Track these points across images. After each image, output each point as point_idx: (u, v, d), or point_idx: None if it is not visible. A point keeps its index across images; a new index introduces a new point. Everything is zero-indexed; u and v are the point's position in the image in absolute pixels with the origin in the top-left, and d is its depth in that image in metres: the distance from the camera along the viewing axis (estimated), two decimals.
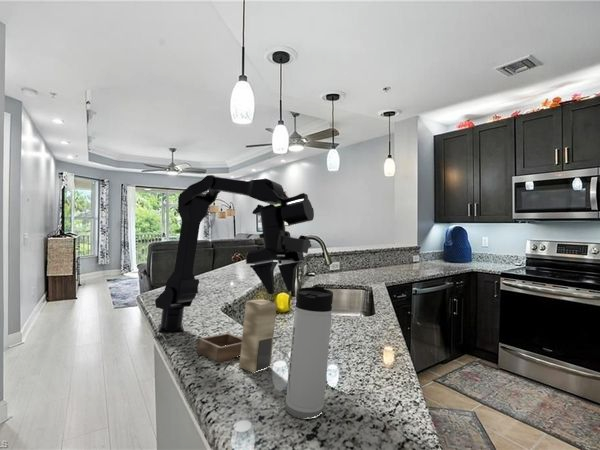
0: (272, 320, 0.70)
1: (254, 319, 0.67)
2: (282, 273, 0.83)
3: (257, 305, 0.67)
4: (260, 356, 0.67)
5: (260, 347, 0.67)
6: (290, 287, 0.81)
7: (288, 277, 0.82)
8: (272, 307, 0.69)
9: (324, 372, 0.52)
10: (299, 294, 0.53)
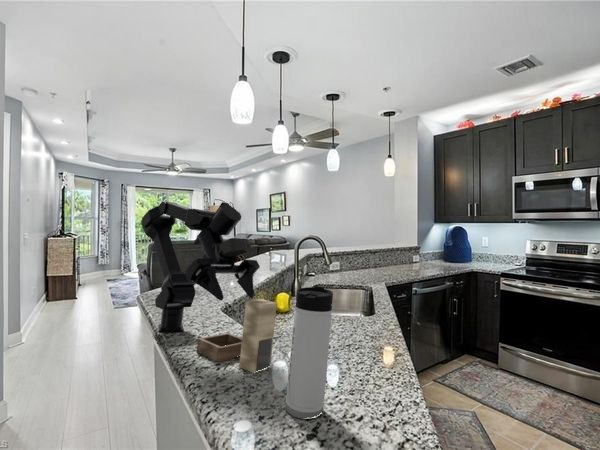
0: (272, 320, 0.70)
1: (254, 319, 0.67)
2: (242, 285, 0.82)
3: (257, 305, 0.67)
4: (260, 356, 0.67)
5: (260, 347, 0.67)
6: (251, 293, 0.79)
7: (247, 285, 0.80)
8: (272, 307, 0.69)
9: (324, 372, 0.52)
10: (299, 294, 0.53)
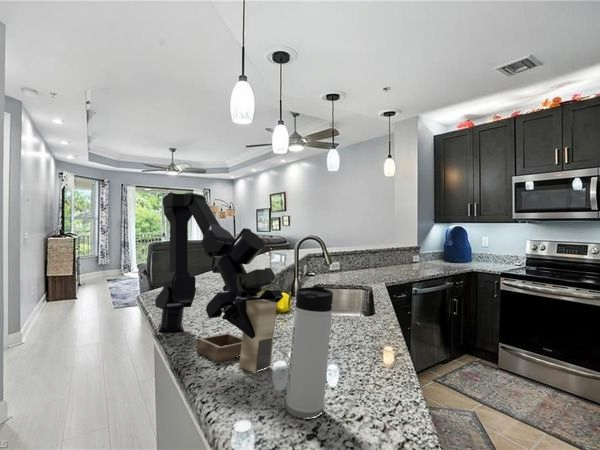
0: (272, 320, 0.70)
1: (254, 319, 0.67)
2: None
3: (257, 305, 0.67)
4: (260, 356, 0.67)
5: (260, 347, 0.67)
6: None
7: None
8: (272, 307, 0.69)
9: (324, 372, 0.52)
10: (299, 294, 0.53)
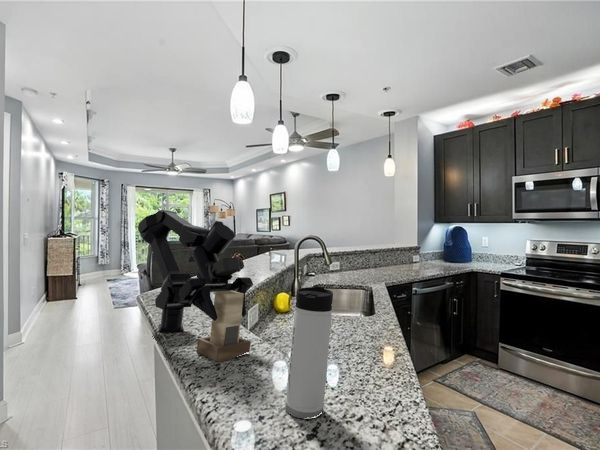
0: (239, 309, 0.77)
1: (222, 308, 0.74)
2: None
3: (224, 295, 0.74)
4: (227, 341, 0.74)
5: (227, 333, 0.74)
6: (243, 312, 0.79)
7: None
8: (239, 297, 0.76)
9: (324, 372, 0.52)
10: (299, 294, 0.53)
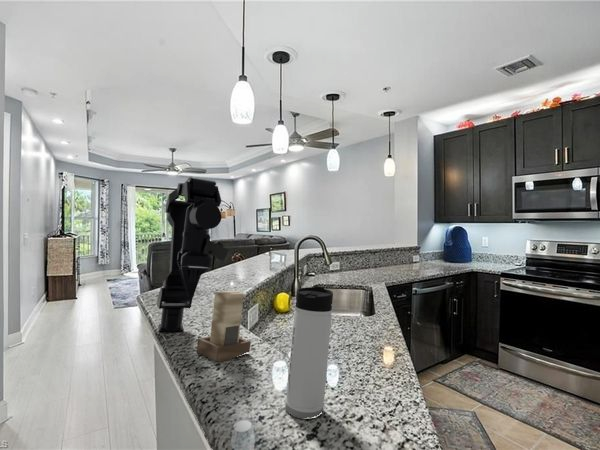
0: (239, 309, 0.77)
1: (222, 308, 0.74)
2: (182, 271, 0.81)
3: (224, 295, 0.74)
4: (227, 341, 0.74)
5: (227, 333, 0.74)
6: None
7: None
8: (239, 297, 0.76)
9: (324, 372, 0.52)
10: (299, 294, 0.53)
